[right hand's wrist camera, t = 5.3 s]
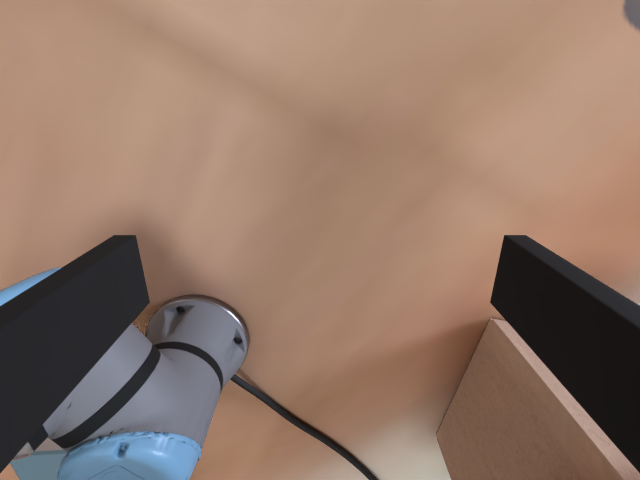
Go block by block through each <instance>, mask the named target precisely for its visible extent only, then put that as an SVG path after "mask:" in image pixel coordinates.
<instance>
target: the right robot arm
mask: <svg viewBox="0 0 640 480" xmlns="http://www.w3.org/2000/svg"><path fill="white" fill-rule="evenodd" d="M149 303H150V301H149V296H148V292H147V287H146V282H145V277H144V273H143V268H142V263H141V258H140V254H139V249H138V244H137V239H136V235H114V236H112V237H111V238H109V239H107V240H106V241H104V242H103V243H101V244H99V245H98V246H96V247H95V248H93V249H91V250H90V251H88V252H86V253H85V254H83V255H82V256H80V257H78V258H77V259H75V260H74V261H72V262H70V263H69V264H67V265H66V266H64V267H62V268H54V269H50V270H47V271H44V272H42V273H39V274H37V275H34V276H32V277H30V278H27V279H25V280H23V281H20V282H18V283H16V284H14V285H12V286H10V287H7V288H5V289H3V290H1V291H0V473H1V472H2V471H3V470H4V468H5V467H6V466H7V465H8V464H9V463H10V462H11V461H14V460H17V459H21V458H25V457H29V456H30V455H31V454H32V453H33V452H34V451H35V450H36V449H37V448H38V447H39V446H40V445H41V444H42V443H43V442H44V441H45V440H46V439H47V438H49V439H50V440H52V441H53V442H54V443H56V444H57V445H58V446H60V447H61V448H62V449H63V450H64V451H66V452H67V454H66V455H65V456H64V457H63V459H62V460H61V462H60V467H59V470H58V474H57V479H58V480H189V479H190V477H191V474H192V472H193V470H194V468H195V465H196V463H197V462H198V460H199V458H200V456H201V452H202V447H203V444H204V441H205V438H206V435H207V432H208V429H209V426H210V423H211V420H212V417H213V414H214V411H215V408H216V405H217V402H218V399H219V396H220V393H221V390H222V388H223V387H224V386H225V385H226V383H227V382H228V381H229V380H230V379H231V380H232V381H233V382H235V383H236V384H238V385H239V386H241V387H242V388H244V389H245V390H246V391H248V392H250V393H251V394H253V395H254V396H256V397H257V398H259V399H260V400H261V401H263V402H264V403H265V404H267V405H268V406H269V407H271V408H272V409H273V410H275V411H276V412H277V413H279V414H280V415H281V416H283V417H284V418H285V419H287V420H288V421H289V422H291V423H292V424H294V425H295V426H297V427H298V428H300V429H302V430H303V431H305V432H307V433H308V434H310V435H312V436H313V437H315V438H317V439H318V440H320V441H321V442H323V443H324V444H326V445H327V446H329V447H330V448H332V449H333V450H335V451H336V452H337V453H339V454H340V455H341V456H343V457H344V458H345V459H347V460H348V461H349V462H350V463H352V464H353V465H354V466H355V467H356V468H357V469H358V470H360V471H361V472H362V473H363V474H364V475H365V476H366V477H367V478H368V479H369V480H376V479H375V478H374V476H373V475H372V474H371V473H370V472H369V471H368V470H367V469H366V468H365V467H363V466H362V465H361V464H360V463H359V462H358V461H357V460H356V459H354V458H353V457H352V456H351V455H350V454H348V453H347V452H346V451H345V450H343V449H342V448H341V447H339V446H338V445H336V444H335V443H334V442H332V441H331V440H329V439H328V438H326V437H325V436H323V435H322V434H320V433H319V432H317V431H315V430H314V429H312V428H310V427H309V426H307V425H305V424H304V423H302V422H301V421H299V420H298V419H296V418H295V417H293V416H292V415H290V414H289V413H288V412H286V411H285V410H284V409H282V408H281V407H280V406H278V405H277V404H276V403H275V402H273V401H272V400H271V399H269V398H268V397H267V396H265V395H264V394H263V393H261V392H260V391H258V390H257V389H255V388H254V387H252V386H251V385H249V384H248V383H247V382H245V381H244V380H242V379H241V378H239V377H238V376H237V375H235V373H236V372H237V371H238V370H239V368H240V367H241V365H242V364H243V362H244V360H245V357H246V354H247V351H248V347H249V333H248V330H247V327H246V325H245V323H244V321H243V319H242V318H241V317H240V315H239V314H238V313H237V312H236V311H235V310H234V309H233V308H231V307H230V306H229V305H227V304H225V303H224V302H222V301H220V300H217V299H215V298H212V297H208V296H203V295H184V296H180V297H177V298H174V299H172V300H170V301H168V302H166V303H165V304H163V305H162V306H161V307H160V308H159V309H158V310H157V312H156V313H155V314H154V315H153V317H152V318H151V320H150V322H149V324H148V326H147V329H146V332H145V335H143V334H142V333H141V332H140V331H139V330H138V329H137V328H136V327H135V326H134V325H133V324H132V322H133V321H134V320H135V319H136V317H137V316H138V315H139V314H140V313H141V312H142V311H143V309H144V308H145V307H146V306H147V305H148V304H149ZM490 303H491V304H492V305H493V306H494V307H495V308H496V309H497V311H498V312H499V313H500V314H501V315H502V316H503V317H504V319H505V320H506V321H507V322H508V323H509V324H510V325H511V327H512V328H513V329H514V330H515V331H516V332H517V334H518V335H519V336H520V337H521V338H522V339H523V340H524V342H525V343H526V344H527V345H528V346H529V347H530V348H531V350H532V351H533V352H534V353H535V354H536V355H537V356H538V358H539V359H540V360H541V361H542V362H543V363H544V364H545V366H546V367H547V368H548V369H549V370H550V371H551V372H552V374H553V375H554V376H555V377H556V378H557V379H558V380H559V382H560V383H561V384H562V385H563V386H564V387H565V388H566V390H567V391H568V392H569V393H570V394H571V395H572V396H573V398H574V399H575V400H576V401H577V402H578V403H579V404H580V406H581V407H582V408H583V409H584V410H585V411H586V412H587V414H588V415H589V416H590V417H591V418H592V419H593V420H594V422H595V423H596V424H597V425H598V426H599V427H600V428H601V430H602V431H603V432H604V433H605V434H606V435H607V436H608V438H609V439H610V440H611V441H612V442H613V443H614V444H615V446H616V447H617V448H618V449H619V450H620V451H621V452H622V454H623V455H624V456H625V457H626V458H627V459H628V460H629V462H630V463H631V464H632V465H633V466H634V467H635V468H636V470H637V471H638V472H639V473H640V306H639V305H637V304H636V303H634V302H632V301H631V300H629V299H628V298H626V297H624V296H623V295H621V294H620V293H618V292H616V291H615V290H613V289H612V288H610V287H608V286H607V285H605V284H603V283H602V282H600V281H599V280H597V279H595V278H594V277H592V276H591V275H589V274H587V273H586V272H584V271H583V270H581V269H579V268H578V267H576V266H574V265H573V264H571V263H570V262H568V261H566V260H565V259H563V258H562V257H560V256H558V255H557V254H555V253H554V252H552V251H550V250H549V249H547V248H545V247H544V246H542V245H541V244H539V243H537V242H536V241H534V240H533V239H531V238H529V237H528V236H526V235H504V239H503V244H502V249H501V254H500V258H499V263H498V268H497V273H496V277H495V282H494V287H493V292H492V296H491V301H490Z"/></svg>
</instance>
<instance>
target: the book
mask: <svg viewBox="0 0 640 480" xmlns="http://www.w3.org/2000/svg"><path fill="white" fill-rule="evenodd" d="M66 454H67V452H66V451H64V450H63V449H62V448H61V447H60V446H58V445H57V444H56V443H54V442H53V441H52V440H50V439H49V438H47V439H46V440H45V441H44V442H43V443H42V444H41V445H40V446H39V447H38V448H37V449H36V450H35V451H34V452H33V453H32V454H31V455H30V456H29V457H25V458H21V459H17V460H14V461H11V462H10V464H11V466H12V467H13V469H14V471H15V472H16V474H17V476H18V477H19V479H20V480H58V479H57V474H58V470H59V467H60V462H61V460H62V459H63V457H64V456H65V455H66Z"/></svg>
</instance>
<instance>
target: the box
mask: <svg viewBox="0 0 640 480" xmlns="http://www.w3.org/2000/svg"><path fill="white" fill-rule="evenodd" d="M436 435H437V438H438V439H437V440H438V443H439V446H440V449H441V451H442V454H443V457H444V460H445V463H446V466H447V468H448V471H449V474H450V477H451V480H640V473H639V472H638V471H637V470H636V468H635V467H634V466H633V465H632V464H631V463H630V462H629V460H628V459H627V458H626V457H625V456H624V455H623V454H622V452H621V451H620V450H619V449H618V448H617V447H616V446H615V444H614V443H613V442H612V441H611V440H610V439H609V438H608V436H607V435H606V434H605V433H604V432H603V431H602V430H601V428H600V427H599V426H598V425H597V424H596V423H595V422H594V420H593V419H592V418H591V417H590V416H589V415H588V414H587V412H586V411H585V410H584V409H583V408H582V407H581V406H580V404H579V403H578V402H577V401H576V400H575V399H574V398H573V396H572V395H571V394H570V393H569V392H568V391H567V390H566V388H565V387H564V386H563V385H562V384H561V383H560V382H559V380H558V379H557V378H556V377H555V376H554V375H553V374H552V372H551V371H550V370H549V369H548V368H547V367H546V366H545V364H544V363H543V362H542V361H541V360H540V359H539V358H538V356H537V355H536V354H535V353H534V352H533V351H532V350H531V348H530V347H529V346H528V345H527V344H526V343H525V342H524V340H523V339H522V338H521V337H520V336H519V335H518V334H517V332H516V331H515V330H514V329H513V328H512V327H511V325H510V324H509V323H508V322H507V321H503V320H497V319H491V318H490V320H489V322H488V324H487V327H486V329H485V331H484V333H483V335H482V337H481V339H480V342H479V344H478V346H477V348H476V350H475V352H474V354H473V357H472V359H471V361H470V363H469V365H468V367H467V369H466V372H465V374H464V376H463V378H462V380H461V382H460V384H459V387H458V389H457V391H456V393H455V395H454V397H453V400H452V402H451V404H450V406H449V408H448V410H447V412H446V415H445V417H444V419H443V421H442V423H441V425H440V427H439V430H438V432H437V434H436Z"/></svg>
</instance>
